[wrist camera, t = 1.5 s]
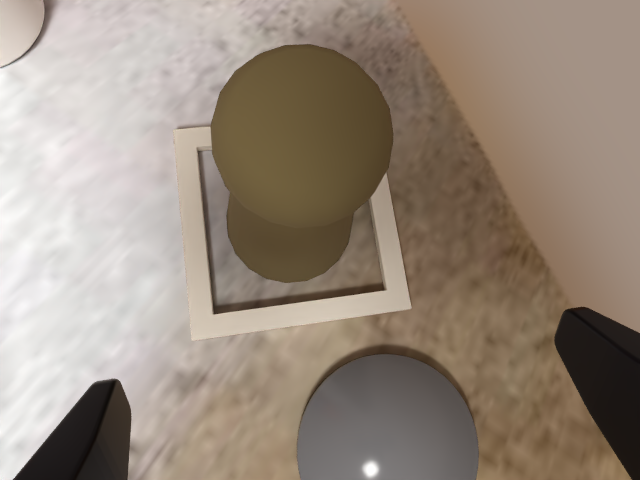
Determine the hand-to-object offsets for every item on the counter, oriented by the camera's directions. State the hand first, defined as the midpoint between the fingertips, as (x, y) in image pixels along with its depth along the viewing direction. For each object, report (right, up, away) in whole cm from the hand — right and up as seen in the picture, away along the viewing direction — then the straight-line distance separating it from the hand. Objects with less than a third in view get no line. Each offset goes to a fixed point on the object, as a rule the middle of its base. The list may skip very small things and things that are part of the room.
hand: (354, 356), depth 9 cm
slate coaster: (+2, -7, +11) cm, 13 cm away
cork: (-2, +3, +13) cm, 14 cm away
